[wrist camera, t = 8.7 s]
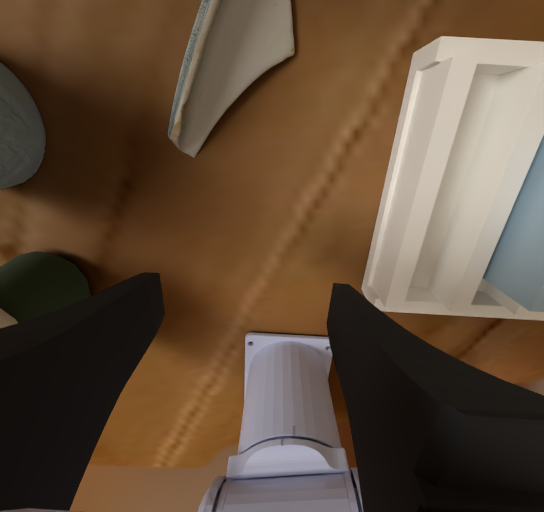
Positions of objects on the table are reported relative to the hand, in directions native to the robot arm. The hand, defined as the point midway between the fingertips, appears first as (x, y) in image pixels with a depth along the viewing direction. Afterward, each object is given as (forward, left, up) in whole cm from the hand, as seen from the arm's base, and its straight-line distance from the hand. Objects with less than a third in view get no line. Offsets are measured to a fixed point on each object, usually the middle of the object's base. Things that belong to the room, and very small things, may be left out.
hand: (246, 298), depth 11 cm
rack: (+3, -16, -10) cm, 19 cm away
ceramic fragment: (+11, +2, -11) cm, 16 cm away
